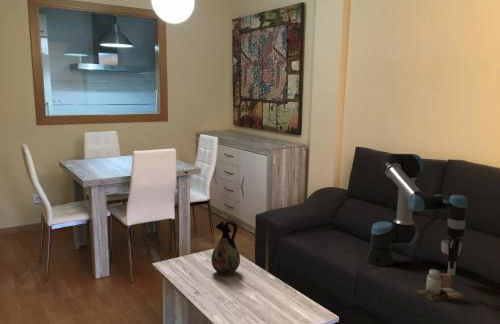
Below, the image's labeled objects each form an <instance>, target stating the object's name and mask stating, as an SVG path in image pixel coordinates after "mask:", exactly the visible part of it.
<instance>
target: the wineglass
mask: <svg viewBox="0 0 500 324" xmlns="http://www.w3.org/2000/svg"><path fill="white" fill-rule="evenodd" d="M448 244H449V239H442V240H441V244H440V245H441V248H440V249H441V254H442V256H443V257H444V258H445V259H447V260H448ZM462 245H463V243H462V242H460V245H459V251H458V257H460V253H461V250H462ZM448 270H449V263H448V266H447V271H448Z"/></svg>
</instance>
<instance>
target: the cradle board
mask: <svg viewBox="0 0 500 324" xmlns="http://www.w3.org/2000/svg"><path fill="white" fill-rule="evenodd" d="M414 291H415V292H417V293H418V294H420V295H421V296H423V297H424V298H427V299H428V300H430V301H431V302H433V303H436V302H442V301H448V300H453V299H458V298H459V299H460V298H465V297H467V296H466V295H465V294H462V293H460V292H459V291H457V290H455V289H454V288H451V286H450V287H447V286H441V292H440V296H434V297H433V294H431V293H429V292H428V291H426V287H425V288H417V289H414Z"/></svg>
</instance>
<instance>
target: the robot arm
mask: <svg viewBox="0 0 500 324" xmlns="http://www.w3.org/2000/svg"><path fill="white" fill-rule="evenodd" d="M381 167H382V168H381V170H382V171H383V174H384V175H385V177H388V178H389V179H391V180H392V181H393V183H394V184H395V185H396V187H398V191H397V192H398V194H397V207H396V218H395V219H394V220H393V223H392V222H389V221H377V222H375V223H373V224H372V226H371V231H370V234H371V235H370V247H369V250H368V253H367V254H366V261H367V262H368V263H370V264H371V265H373V266H374V265H375V266H379V267H387V266H388V267H389V266H392V265H393V264H394V258H393V254H392V253H393V252H392V246H393V245H405V246H406V245H413V244H414V243H415V242H416V241H417V239H418V236H419V231H418V227H417V225H416V224H415V222H414V221H413V212H431V211H433V212H438V211H439V212H441V211H442V212H445V213H448V216H447V219H446V221H447V228H446V235H448V236H450V238H449V239H448V240H449V244H448V259H447V262H448V264H449V270H448V269H447V274H450V275H451V276H455V275H456V265H457V262H459V259H458V258H459V256H458V251H459V245H460V243H461V238H463V237H464V236H465V228H466V218H467V209H468V198H467V197H466V196H464V195H461V194H460V195H459V194H451V195H450V196H448V195H445V194H440V193H438V194H435V195H425V194H424V193H423V192H422V190H421V189H420V188H419V187H418V186H417V185H416V180H417V179H418V178H419V175H420V174H421V173H423V170H424V162H423V160H422V157H421V156H420V155H419V154H415V153H391V154H389V155H386V157H385V158H384V159H383V161H382V164H381Z"/></svg>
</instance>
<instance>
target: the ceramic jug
mask: <svg viewBox="0 0 500 324" xmlns="http://www.w3.org/2000/svg"><path fill="white" fill-rule="evenodd" d="M230 225H231V226H232V228H233V230H231V228H230V227H229V226H230ZM214 229H217V230H219V231H220V232H222V236H221V238H220V239H219V240H218V241H217V243H216V245H214V248H213V251H212V254H211V261H210V262H211V266H212V268H213V269H214V270H215V271H216V274H217V275H218V276H219V277H226V278H227V277H231V276H234V275H235V274H236V273H235V272H236V271H237V269H238V268H239V267H240V264H241V255H240V252H239V249H238V247H237V246H236V242H235V237H236V235H237V232H238V225H237V223H236V222H235V221H233V220H226V222H224V221H221V222H220V223H217V225H216V226H215V227H214ZM230 233H232V235H231V236H230Z"/></svg>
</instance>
